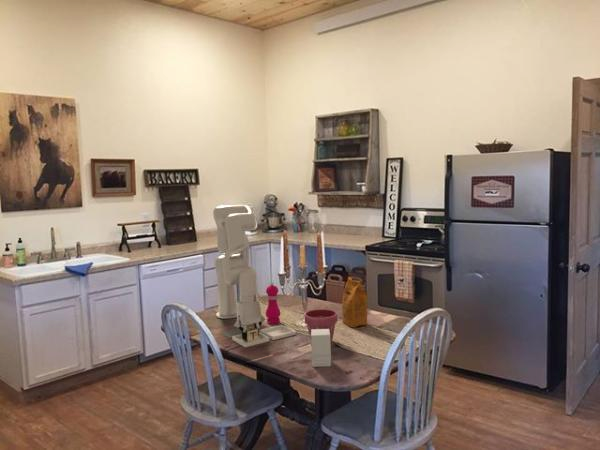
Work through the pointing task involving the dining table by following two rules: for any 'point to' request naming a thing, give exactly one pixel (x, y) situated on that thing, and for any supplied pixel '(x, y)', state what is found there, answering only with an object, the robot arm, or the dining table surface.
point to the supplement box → (320, 347)
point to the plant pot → (321, 320)
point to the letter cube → (251, 334)
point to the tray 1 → (239, 340)
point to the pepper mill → (272, 305)
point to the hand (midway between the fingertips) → (250, 338)
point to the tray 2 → (277, 332)
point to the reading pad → (231, 332)
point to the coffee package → (354, 304)
